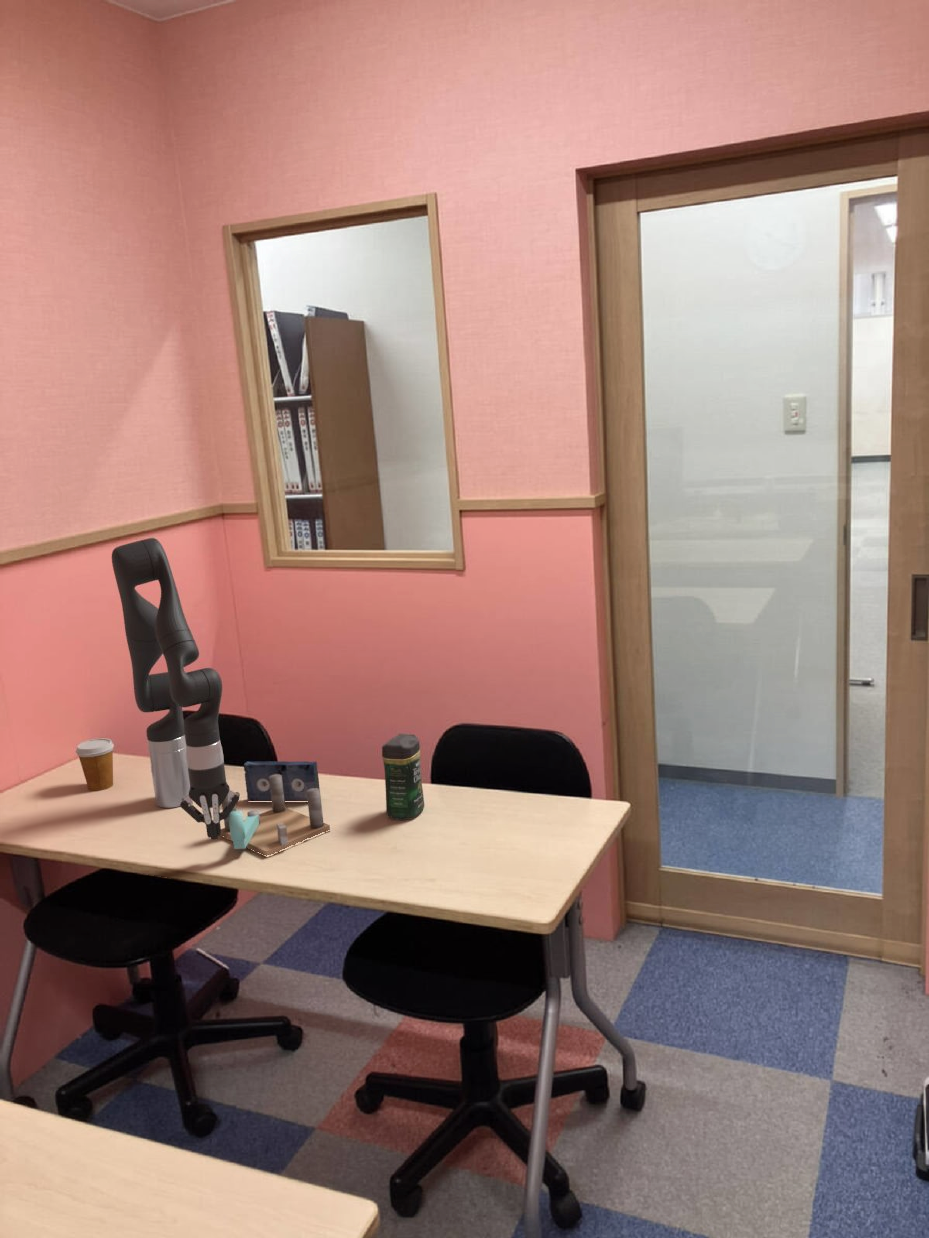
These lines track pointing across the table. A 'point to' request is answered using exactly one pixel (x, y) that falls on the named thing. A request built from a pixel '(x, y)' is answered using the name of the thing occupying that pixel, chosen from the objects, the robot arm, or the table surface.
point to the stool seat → (283, 821)
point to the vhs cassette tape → (293, 778)
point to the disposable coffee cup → (97, 763)
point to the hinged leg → (243, 827)
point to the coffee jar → (403, 777)
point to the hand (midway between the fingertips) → (214, 837)
